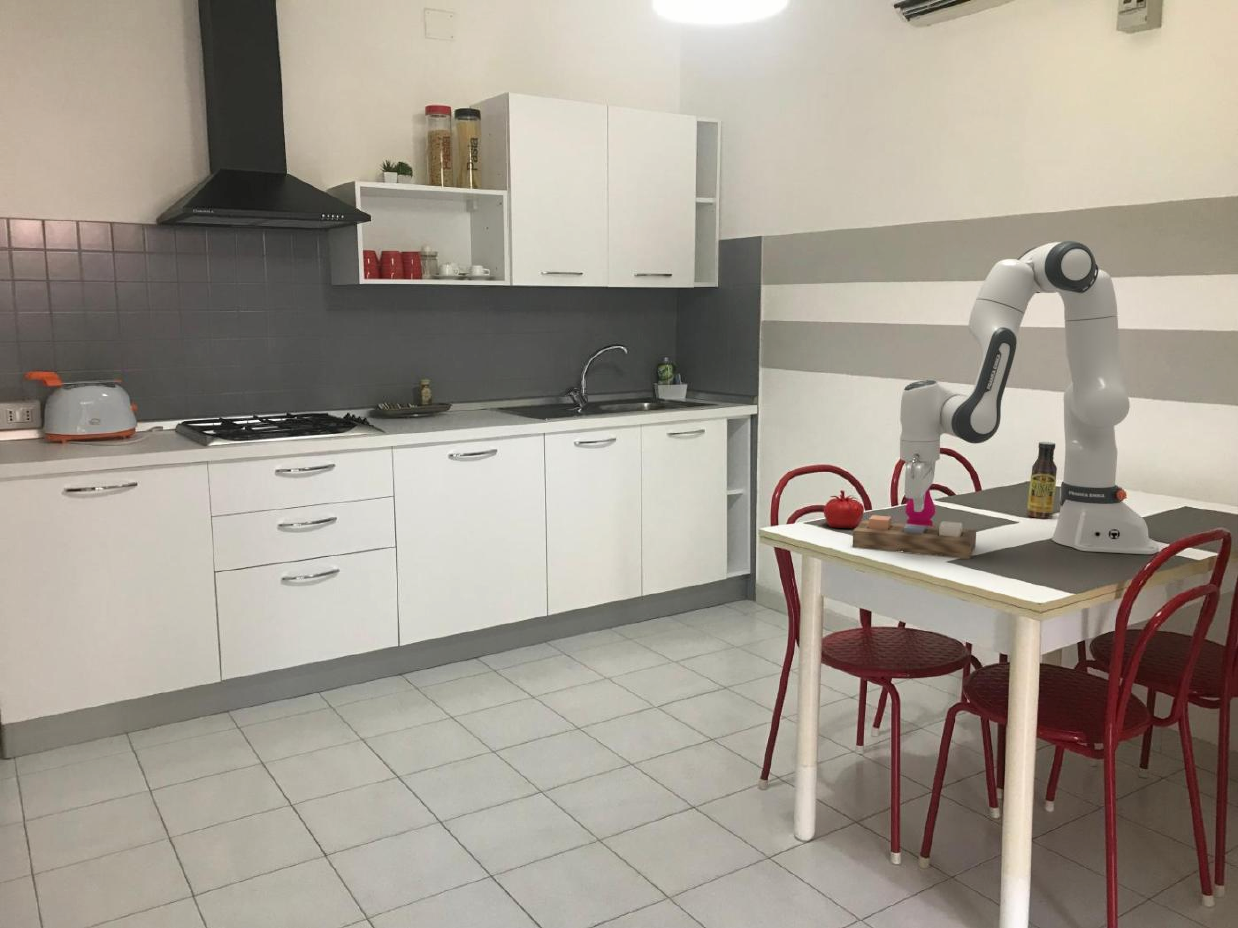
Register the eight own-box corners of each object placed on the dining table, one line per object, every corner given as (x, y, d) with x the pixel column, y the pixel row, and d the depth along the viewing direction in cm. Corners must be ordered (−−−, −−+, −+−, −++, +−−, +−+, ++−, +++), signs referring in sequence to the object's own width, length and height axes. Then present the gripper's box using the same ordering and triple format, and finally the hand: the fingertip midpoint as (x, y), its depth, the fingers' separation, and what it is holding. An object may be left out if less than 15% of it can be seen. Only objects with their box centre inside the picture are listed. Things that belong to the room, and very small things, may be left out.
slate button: (925, 540, 235) (926, 525, 234) (922, 544, 231) (923, 529, 230) (906, 538, 237) (906, 523, 236) (902, 542, 233) (903, 527, 232)
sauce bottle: (1026, 518, 264) (1031, 443, 260) (1026, 513, 270) (1031, 440, 266) (1053, 520, 261) (1059, 444, 258) (1053, 515, 267) (1058, 441, 264)
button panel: (975, 546, 234) (976, 530, 233) (969, 558, 223) (970, 541, 223) (863, 535, 245) (863, 520, 244) (852, 547, 234) (853, 530, 234)
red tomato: (860, 532, 250) (862, 496, 248) (820, 528, 253) (821, 493, 251) (865, 523, 259) (867, 488, 257) (826, 519, 262) (827, 485, 261)
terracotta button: (890, 531, 238) (891, 516, 237) (887, 535, 234) (887, 520, 234) (872, 529, 240) (872, 515, 239) (868, 533, 236) (868, 518, 235)
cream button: (961, 537, 231) (962, 522, 231) (958, 541, 227) (959, 526, 227) (941, 535, 233) (942, 521, 233) (938, 540, 229) (939, 525, 229)
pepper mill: (935, 531, 249) (939, 452, 246) (905, 530, 251) (909, 451, 248) (932, 524, 256) (936, 447, 253) (903, 523, 258) (907, 447, 255)
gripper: (927, 459, 220) (926, 520, 222) (939, 445, 238) (938, 502, 240) (898, 458, 222) (897, 519, 224) (912, 445, 240) (911, 501, 243)
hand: (918, 510), depth 232 cm, fingers closed
